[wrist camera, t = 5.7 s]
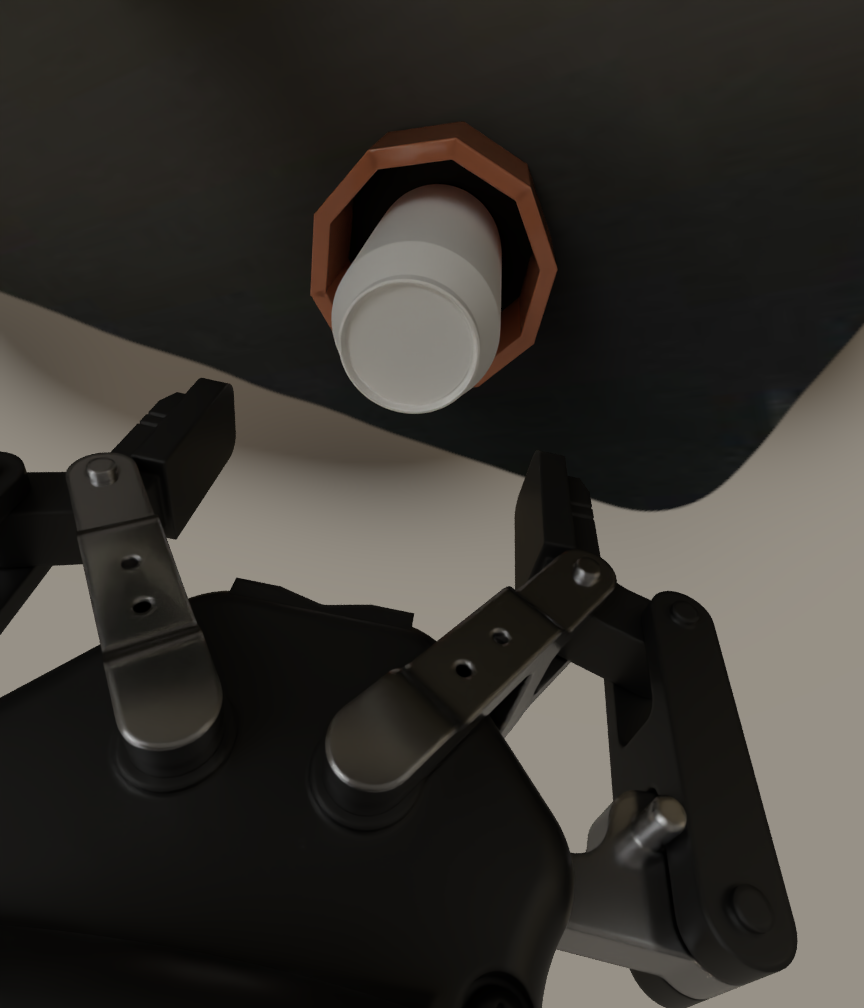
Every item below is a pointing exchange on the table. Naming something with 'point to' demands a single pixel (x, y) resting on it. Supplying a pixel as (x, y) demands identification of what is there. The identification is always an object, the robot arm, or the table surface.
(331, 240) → the holder
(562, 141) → the table surface
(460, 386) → the beverage can
